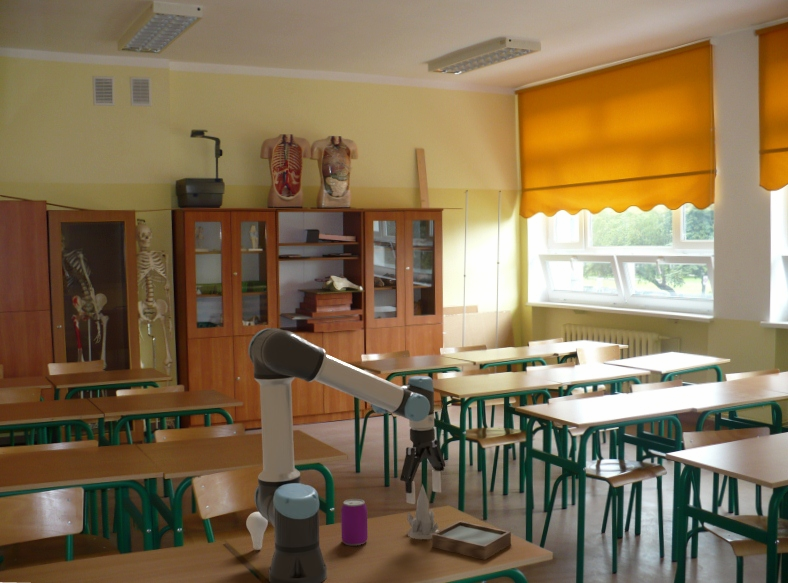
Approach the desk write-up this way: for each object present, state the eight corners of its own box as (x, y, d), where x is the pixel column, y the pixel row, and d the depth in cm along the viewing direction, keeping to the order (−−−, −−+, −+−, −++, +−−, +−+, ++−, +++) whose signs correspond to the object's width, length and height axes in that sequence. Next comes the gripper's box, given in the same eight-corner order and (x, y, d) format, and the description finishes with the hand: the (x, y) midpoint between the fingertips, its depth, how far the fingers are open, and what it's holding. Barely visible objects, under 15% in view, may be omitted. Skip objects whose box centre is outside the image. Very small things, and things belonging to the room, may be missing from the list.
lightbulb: (242, 551, 227) (241, 513, 227) (255, 544, 232) (254, 507, 232) (259, 555, 224) (258, 516, 224) (272, 548, 230) (271, 510, 229)
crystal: (409, 543, 232) (408, 492, 232) (405, 528, 245) (404, 480, 245) (443, 541, 233) (442, 491, 232) (437, 526, 246) (436, 479, 246)
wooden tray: (432, 546, 228) (432, 534, 228) (459, 532, 240) (459, 520, 240) (484, 559, 218) (484, 546, 217) (510, 544, 229) (510, 531, 229)
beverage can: (342, 547, 229) (341, 506, 229) (341, 538, 237) (340, 498, 237) (368, 546, 230) (367, 505, 230) (366, 537, 238) (366, 497, 237)
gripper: (407, 437, 226) (409, 510, 227) (455, 421, 246) (457, 488, 246) (386, 434, 230) (389, 506, 231) (435, 419, 250) (437, 485, 251)
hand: (424, 497), depth 239 cm, fingers open, 13 cm apart
